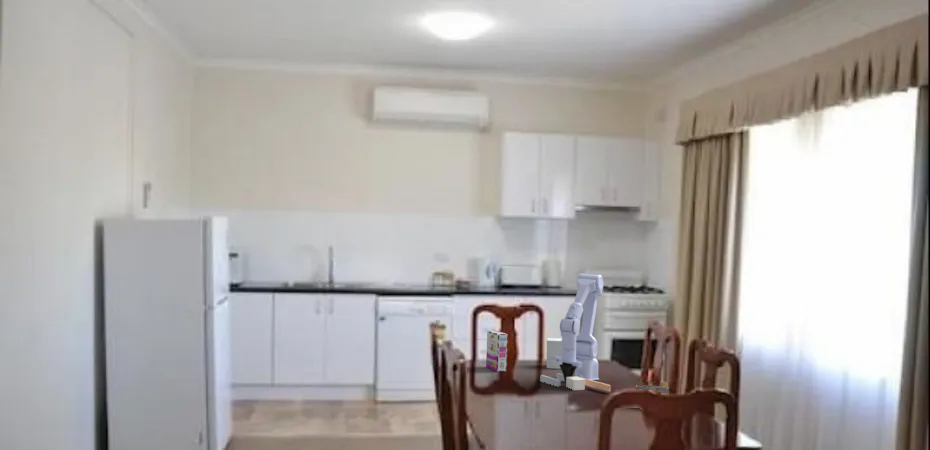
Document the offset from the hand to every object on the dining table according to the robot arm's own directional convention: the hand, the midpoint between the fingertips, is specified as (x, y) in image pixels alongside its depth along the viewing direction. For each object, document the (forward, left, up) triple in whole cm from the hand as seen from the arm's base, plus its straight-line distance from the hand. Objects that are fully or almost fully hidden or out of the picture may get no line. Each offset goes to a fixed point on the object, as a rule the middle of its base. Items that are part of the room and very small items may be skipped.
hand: (567, 382), depth 299 cm
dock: (0, -6, -1) cm, 6 cm away
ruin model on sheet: (-6, +39, -2) cm, 39 cm away
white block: (0, +5, -1) cm, 5 cm away
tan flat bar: (-6, +9, -1) cm, 11 cm away
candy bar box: (+8, -38, -2) cm, 39 cm away
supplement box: (-19, -31, -2) cm, 37 cm away
